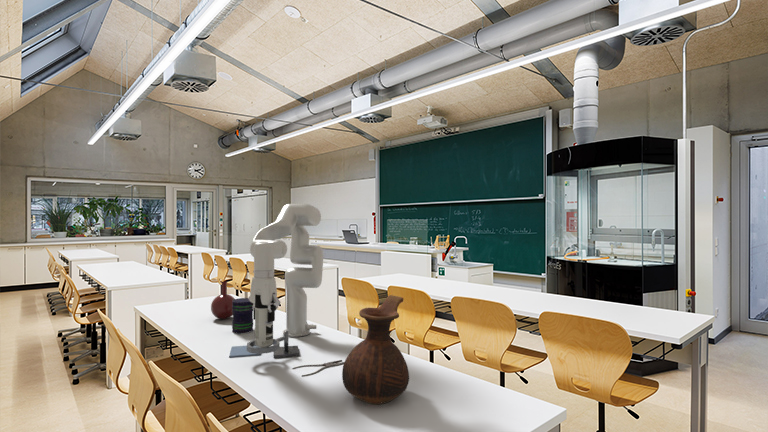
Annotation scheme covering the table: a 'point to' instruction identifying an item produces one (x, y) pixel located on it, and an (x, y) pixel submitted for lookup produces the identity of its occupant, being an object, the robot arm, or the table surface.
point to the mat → (241, 351)
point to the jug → (377, 358)
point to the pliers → (326, 365)
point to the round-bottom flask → (222, 304)
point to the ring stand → (275, 348)
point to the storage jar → (242, 316)
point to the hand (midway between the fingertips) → (264, 319)
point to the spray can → (262, 324)
